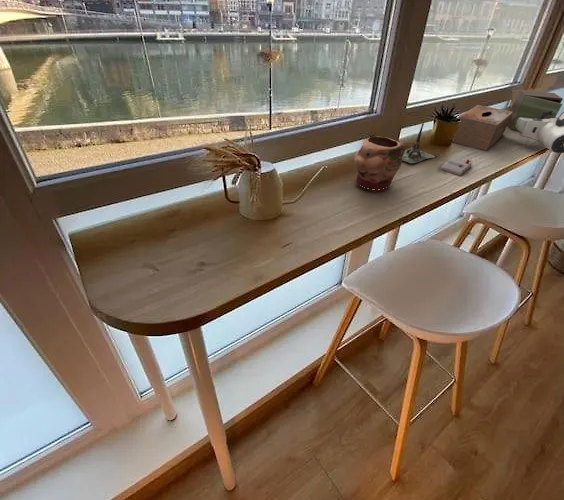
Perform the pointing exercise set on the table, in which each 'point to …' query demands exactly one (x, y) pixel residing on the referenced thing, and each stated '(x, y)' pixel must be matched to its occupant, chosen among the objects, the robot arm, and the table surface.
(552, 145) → the robot arm
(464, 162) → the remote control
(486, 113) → the tissue box cover
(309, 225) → the table surface
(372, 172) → the decorative planter
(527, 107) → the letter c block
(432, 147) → the table surface
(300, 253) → the table surface
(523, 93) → the green door cabinet
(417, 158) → the eiffel tower figurine
